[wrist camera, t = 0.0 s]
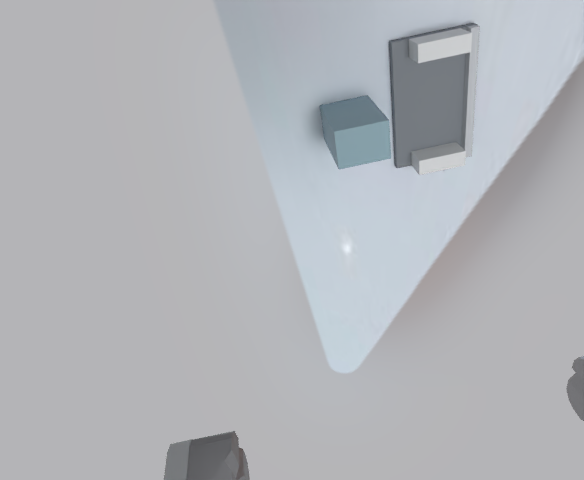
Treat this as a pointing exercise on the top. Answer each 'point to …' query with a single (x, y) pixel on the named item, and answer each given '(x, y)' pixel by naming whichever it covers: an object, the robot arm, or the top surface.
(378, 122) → the block
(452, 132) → the mounting board
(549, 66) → the top surface
